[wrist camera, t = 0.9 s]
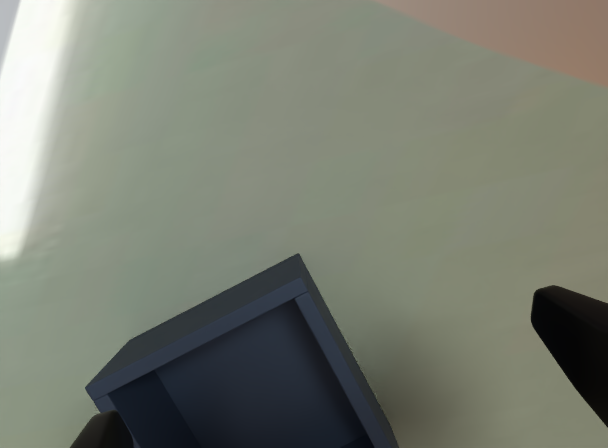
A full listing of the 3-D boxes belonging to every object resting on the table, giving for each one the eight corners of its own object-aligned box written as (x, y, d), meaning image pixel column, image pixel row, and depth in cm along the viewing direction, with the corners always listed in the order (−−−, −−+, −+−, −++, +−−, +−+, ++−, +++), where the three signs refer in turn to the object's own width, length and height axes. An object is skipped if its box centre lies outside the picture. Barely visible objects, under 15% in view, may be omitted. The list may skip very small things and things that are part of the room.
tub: (391, 426, 24) (417, 494, 19) (230, 506, 25) (214, 593, 20) (298, 252, 23) (300, 276, 18) (128, 340, 23) (84, 387, 18)
